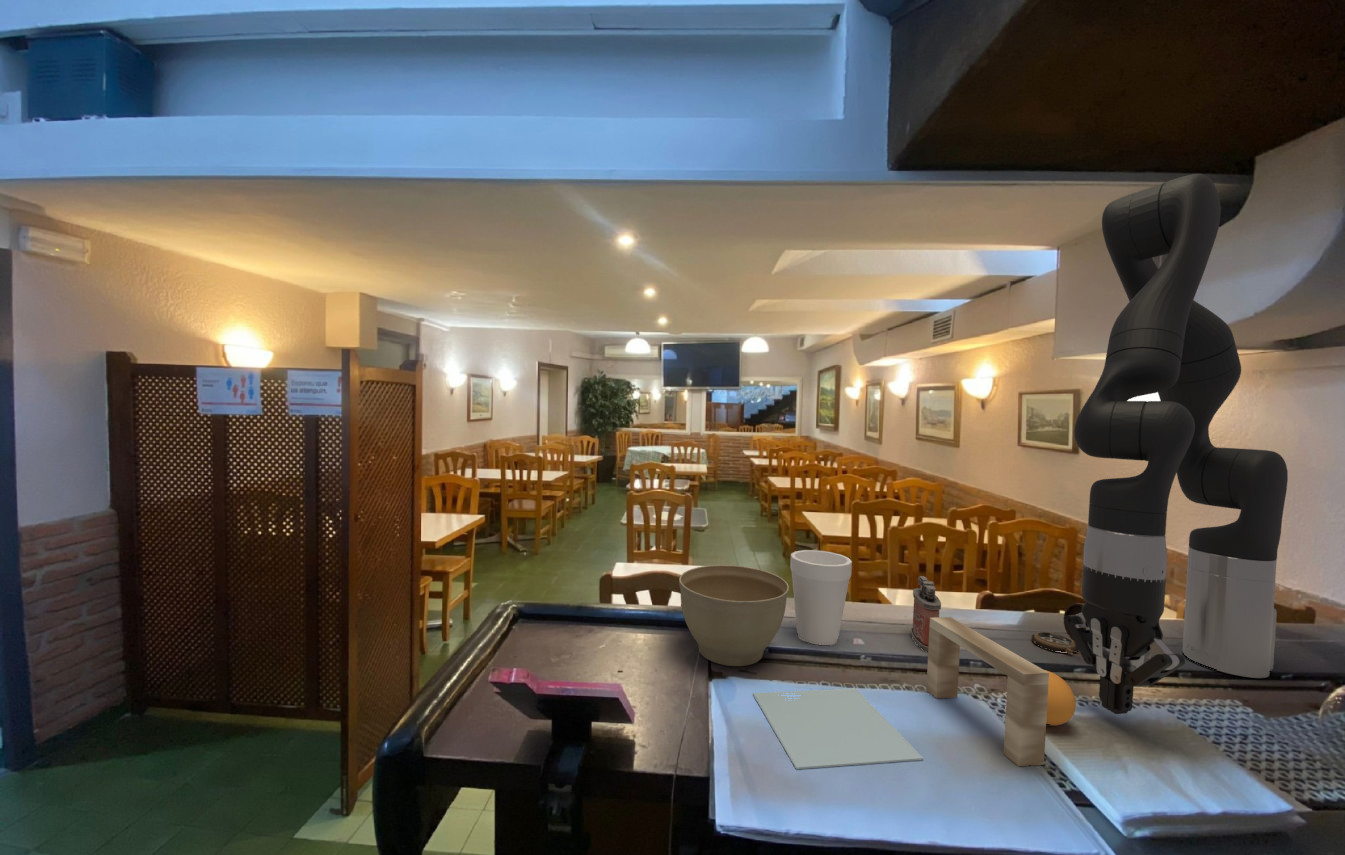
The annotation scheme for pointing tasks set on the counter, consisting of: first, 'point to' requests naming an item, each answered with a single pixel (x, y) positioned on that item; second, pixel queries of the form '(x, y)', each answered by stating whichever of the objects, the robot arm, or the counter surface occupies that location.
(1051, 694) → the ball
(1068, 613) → the compass
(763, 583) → the planter bowl
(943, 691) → the bridge
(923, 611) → the lighter
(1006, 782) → the counter surface
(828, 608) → the foam cup
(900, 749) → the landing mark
